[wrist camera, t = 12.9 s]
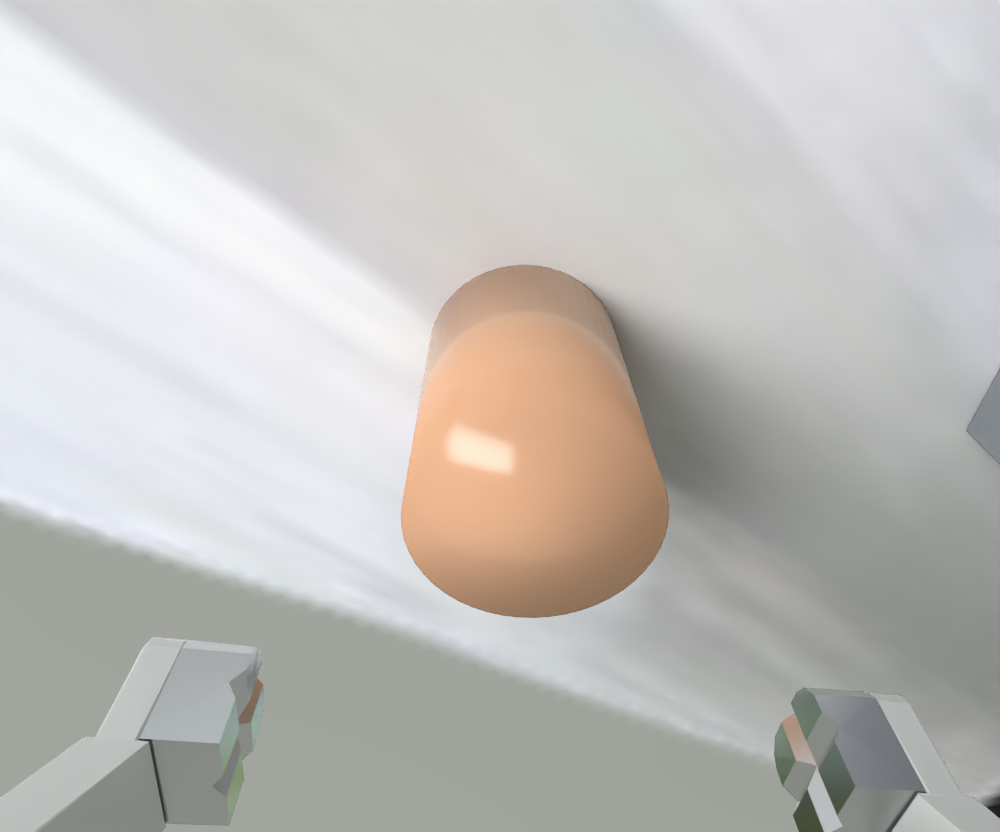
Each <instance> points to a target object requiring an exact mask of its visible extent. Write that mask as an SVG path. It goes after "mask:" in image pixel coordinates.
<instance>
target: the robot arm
mask: <svg viewBox="0 0 1000 832" xmlns="http://www.w3.org/2000/svg"><path fill="white" fill-rule="evenodd" d="M261 664H262V661H261V652H260V648H258V647H251V646H241V645H231V644H222V643H211V642H203V641H192V640H180V639H169V638H158V637H152V638H151V639H150V640H149V641H148V643H146V645H144V646H143V649H142V650H141V652H140V654H139V656H138V658H137V659H136V661H135V663H134V665H133V667H132V669H131V671H130V673H129V675H128V676H127V678H126V680H125V682H124V684H123V686H122V688H121V690H120V691H119V694H118V695H117V697H116V699H115V701H114V703H113V705H112V706H111V708H110V710H109V712H108V714H107V716H106V718H105V720H104V722H103V723H102V725H101V727H100V729H99V731H98V733H97V735H96V737H83V738H82V739H80V740H79V741H78V742H76V743H75V744H74V745H72V746H71V747H69V748H68V749H67V750H65V751H64V752H62V753H61V754H60V755H58V756H57V757H56V758H54V759H53V760H51V761H50V762H49V763H47V764H46V765H45V766H43V767H42V768H40V769H39V770H38V771H36V772H35V773H34V774H32V775H31V776H29V777H28V778H27V779H25V780H24V781H23V782H21V783H20V784H18V785H17V786H16V787H14V788H13V789H12V790H10V791H9V792H7V793H6V794H5V795H3V796H2V797H1V798H0V832H162V831H163V830H164V829H165V828H166V825H165V824H192V825H223V826H229V825H230V821H231V819H232V815H233V812H234V809H235V806H236V803H237V800H238V797H239V793H240V790H241V787H242V784H243V781H244V775H243V764H242V760H243V759H244V758H245V757H246V756H247V755H248V754H250V753H251V752H252V751H253V749H254V746H255V742H256V739H257V736H258V732H259V727H260V722H261V717H262V712H263V700H264V690H263V684H262V683H261V682H260V681H259V680H258V679H257V676H258V673H259V670H260V667H261ZM791 705H792V707H793V710H794V712H795V714H794V715H792V716H791V717H789V718H787V719H786V720H784V721H783V722H781V724H780V727H779V729H778V731H777V734H776V736H775V750H774V756H775V762H776V768H777V772H778V775H779V777H780V780H781V783H782V786H783V787H784V788H785V789H786V790H787V791H788V792H789V793H790V794H791V795H792V796H793V797H794V798H795V799H796V800H797V801H798V802H797V805H796V808H795V811H794V814H793V817H794V820H795V822H796V825H797V828H798V831H799V832H1000V818H998V817H997V816H996V815H995V814H993V813H992V812H991V811H990V810H989V809H987V808H986V807H985V806H984V805H982V804H981V803H980V802H979V801H978V800H976V799H975V798H974V797H970V796H963V794H962V793H961V791H960V789H959V788H958V786H957V784H956V782H955V781H954V779H953V777H952V776H951V774H950V772H949V770H948V769H947V767H946V765H945V764H944V762H943V760H942V758H941V757H940V755H939V753H938V752H937V750H936V748H935V746H934V745H933V743H932V741H931V740H930V738H929V736H928V734H927V733H926V731H925V729H924V728H923V726H922V724H921V722H920V721H919V719H918V717H917V716H916V714H915V712H914V711H913V709H912V707H911V705H910V704H909V702H908V701H907V700H906V699H904V698H903V697H902V696H901V695H894V694H881V693H865V692H863V691H847V690H831V689H815V688H803V689H801V690H799V691H798V692H796V694H795V696H794V698H793V700H792V702H791Z"/></svg>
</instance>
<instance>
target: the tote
mask: <svg viewBox="0 0 1000 832" xmlns="http://www.w3.org/2000/svg"><path fill="white" fill-rule="evenodd" d="M967 432H968V433H969V434H970V435H971V436H972V437H973V438H974V439H975V440H976V441H977V442H978V443H979V444H980V445H981V446H982V447H983V448H984V449H985V450H986V451H987V452H988V453H989V454H990V455H991V456H992V457H993V458H994V459H995V460H996V461H997V462H998V463H999V464H1000V370H999V371H998V373H997V375H996V377H995V379H994V381H993V382H992V384H991V386H990V388H989V390H988V392H987V394H986V395H985V397H984V399H983V401H982V403H981V405H980V407H979V408H978V410H977V412H976V414H975V416H974V418H973V419H972V421H971V423H970V425H969V427H968V429H967Z"/></svg>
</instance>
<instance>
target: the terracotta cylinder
mask: <svg viewBox="0 0 1000 832" xmlns="http://www.w3.org/2000/svg"><path fill="white" fill-rule="evenodd" d="M668 517H669V504H668V496H667V492H666V488H665V485H664V482H663V479H662V476H661V473H660V469H659V466H658V463H657V460H656V457H655V454H654V451H653V448H652V445H651V442H650V439H649V436H648V433H647V430H646V426H645V423H644V420H643V417H642V414H641V411H640V408H639V405H638V402H637V399H636V396H635V393H634V390H633V387H632V384H631V380H630V377H629V374H628V371H627V368H626V365H625V362H624V359H623V356H622V353H621V350H620V347H619V344H618V341H617V338H616V334H615V331H614V328H613V325H612V322H611V319H610V317H609V315H608V313H607V311H606V309H605V307H604V306H603V304H602V303H601V301H600V300H599V299H598V298H597V297H596V295H595V294H594V293H593V292H592V291H591V290H590V289H588V288H587V287H586V286H585V285H584V284H583V283H581V282H579V281H578V280H576V279H575V278H573V277H571V276H569V275H567V274H565V273H563V272H560V271H557V270H554V269H551V268H547V267H541V266H534V265H516V266H507V267H503V268H498V269H495V270H492V271H489V272H486V273H484V274H482V275H480V276H478V277H475V278H473V279H472V280H470V281H469V282H467V283H466V284H464V285H463V286H462V287H461V288H460V289H458V290H457V291H456V292H455V293H454V294H453V295H452V296H451V297H450V299H449V300H448V301H447V302H446V303H445V305H444V306H443V308H442V309H441V311H440V313H439V315H438V317H437V319H436V321H435V324H434V327H433V330H432V334H431V339H430V345H429V351H428V357H427V363H426V368H425V374H424V380H423V386H422V392H421V397H420V403H419V409H418V415H417V421H416V427H415V432H414V438H413V444H412V450H411V456H410V461H409V467H408V473H407V479H406V485H405V491H404V496H403V503H402V510H401V525H402V531H403V536H404V540H405V543H406V546H407V548H408V551H409V553H410V555H411V557H412V558H413V560H414V562H415V564H416V565H417V566H418V568H419V569H420V570H421V571H422V573H423V574H424V575H425V576H426V577H427V578H428V579H429V580H430V581H431V582H432V583H433V584H434V585H435V586H437V587H438V588H439V589H441V590H442V591H443V592H445V593H446V594H448V595H449V596H451V597H453V598H454V599H456V600H458V601H460V602H462V603H464V604H467V605H469V606H471V607H473V608H477V609H480V610H483V611H486V612H490V613H494V614H499V615H504V616H512V617H527V618H537V617H551V616H557V615H564V614H568V613H572V612H576V611H580V610H583V609H586V608H589V607H592V606H594V605H597V604H599V603H601V602H603V601H605V600H607V599H609V598H611V597H613V596H614V595H616V594H618V593H619V592H621V591H622V590H624V589H625V588H626V587H628V586H629V585H630V584H631V583H633V582H634V581H635V580H636V579H637V578H638V577H639V576H640V575H641V574H642V573H643V572H644V571H645V570H646V569H647V567H648V566H649V565H650V563H651V562H652V561H653V560H654V558H655V556H656V554H657V553H658V551H659V549H660V547H661V545H662V542H663V540H664V537H665V534H666V530H667V525H668Z"/></svg>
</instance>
